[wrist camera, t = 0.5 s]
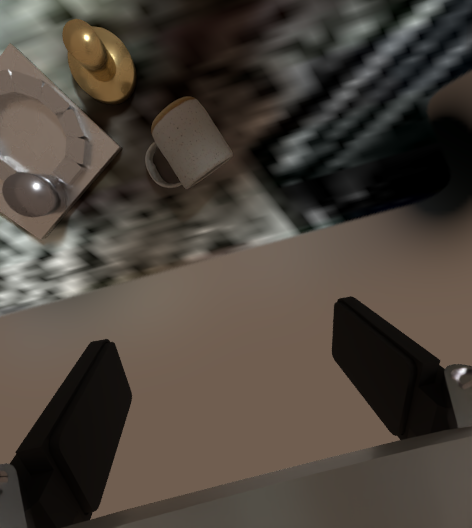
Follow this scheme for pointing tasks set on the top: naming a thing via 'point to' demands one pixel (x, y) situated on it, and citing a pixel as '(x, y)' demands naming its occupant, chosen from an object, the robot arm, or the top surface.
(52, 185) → the carrier
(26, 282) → the top surface
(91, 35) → the brass door knob
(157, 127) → the ceramic mug
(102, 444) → the robot arm
